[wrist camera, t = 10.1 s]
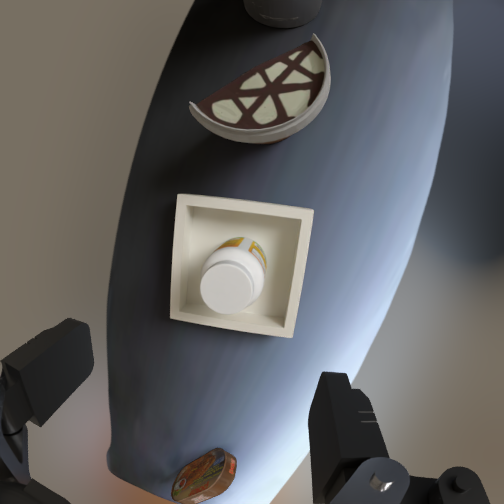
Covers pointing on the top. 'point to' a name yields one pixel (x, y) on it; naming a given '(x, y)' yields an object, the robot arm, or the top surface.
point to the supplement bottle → (233, 276)
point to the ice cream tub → (270, 97)
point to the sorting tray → (250, 226)
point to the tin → (204, 477)
